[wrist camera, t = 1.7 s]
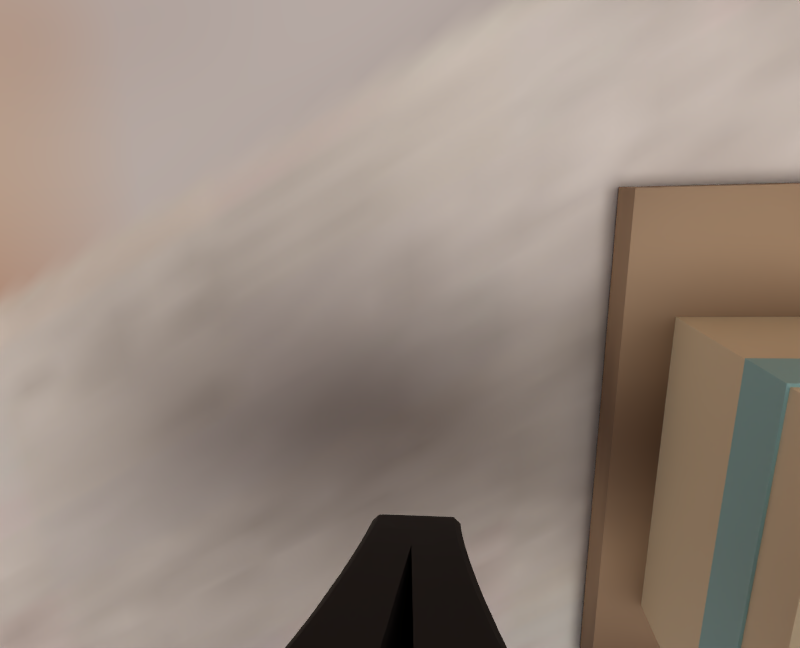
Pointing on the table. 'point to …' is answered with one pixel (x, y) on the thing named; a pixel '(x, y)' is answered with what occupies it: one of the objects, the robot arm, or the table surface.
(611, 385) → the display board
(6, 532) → the table surface
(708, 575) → the carton
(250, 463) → the table surface
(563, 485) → the table surface
